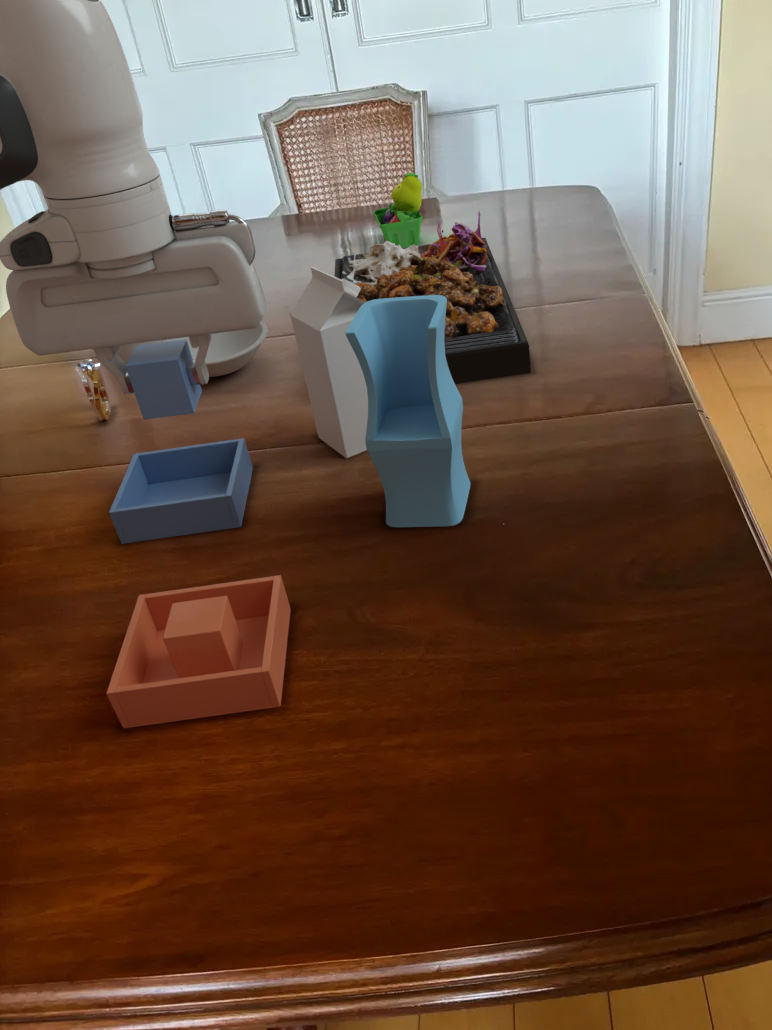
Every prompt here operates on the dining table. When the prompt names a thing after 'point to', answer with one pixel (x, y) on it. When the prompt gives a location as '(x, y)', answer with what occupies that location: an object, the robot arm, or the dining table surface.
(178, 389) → the blue-grey block
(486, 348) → the food platter
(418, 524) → the blue wingback chair
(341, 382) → the milk carton
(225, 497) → the blue-grey tray
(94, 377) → the ring
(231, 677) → the terracotta tray
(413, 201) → the fruit basket
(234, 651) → the terracotta block
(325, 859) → the dining table surface
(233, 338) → the dish
